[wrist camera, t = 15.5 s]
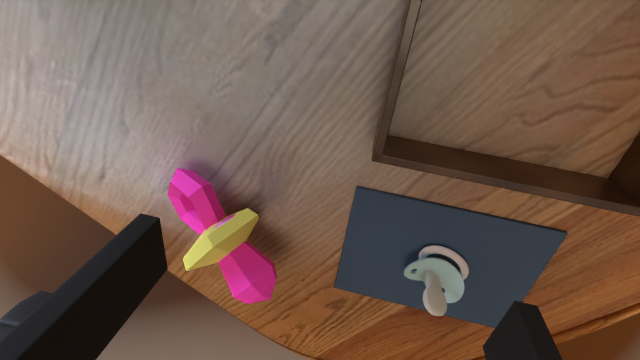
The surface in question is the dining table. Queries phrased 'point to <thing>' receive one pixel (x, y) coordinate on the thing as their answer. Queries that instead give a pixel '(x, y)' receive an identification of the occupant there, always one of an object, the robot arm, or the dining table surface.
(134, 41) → the dining table surface
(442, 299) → the pacifier
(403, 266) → the mat
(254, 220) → the toy
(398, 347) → the dining table surface
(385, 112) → the open box
